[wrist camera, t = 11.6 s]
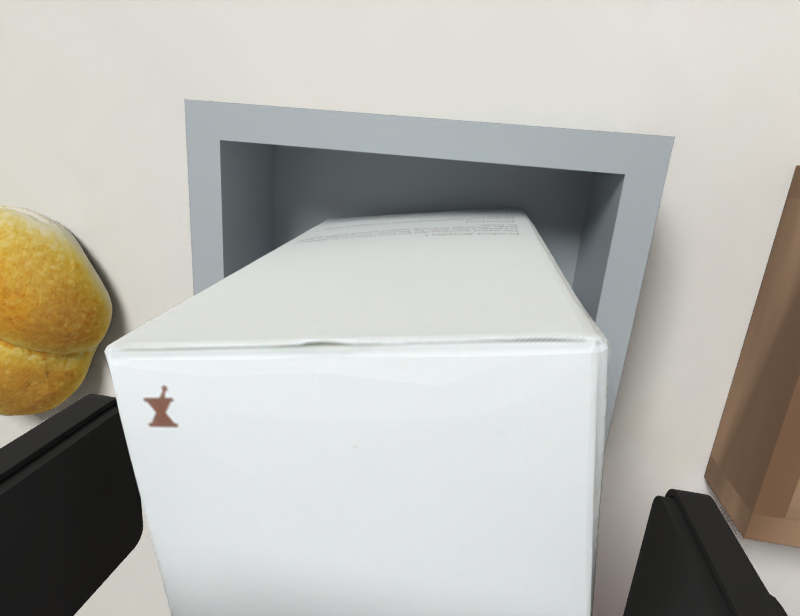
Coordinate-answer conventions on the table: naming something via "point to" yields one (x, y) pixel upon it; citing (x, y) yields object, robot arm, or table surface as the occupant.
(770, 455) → the walnut frame
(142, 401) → the supplement box
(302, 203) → the grey bin
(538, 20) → the table surface
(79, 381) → the bread roll
